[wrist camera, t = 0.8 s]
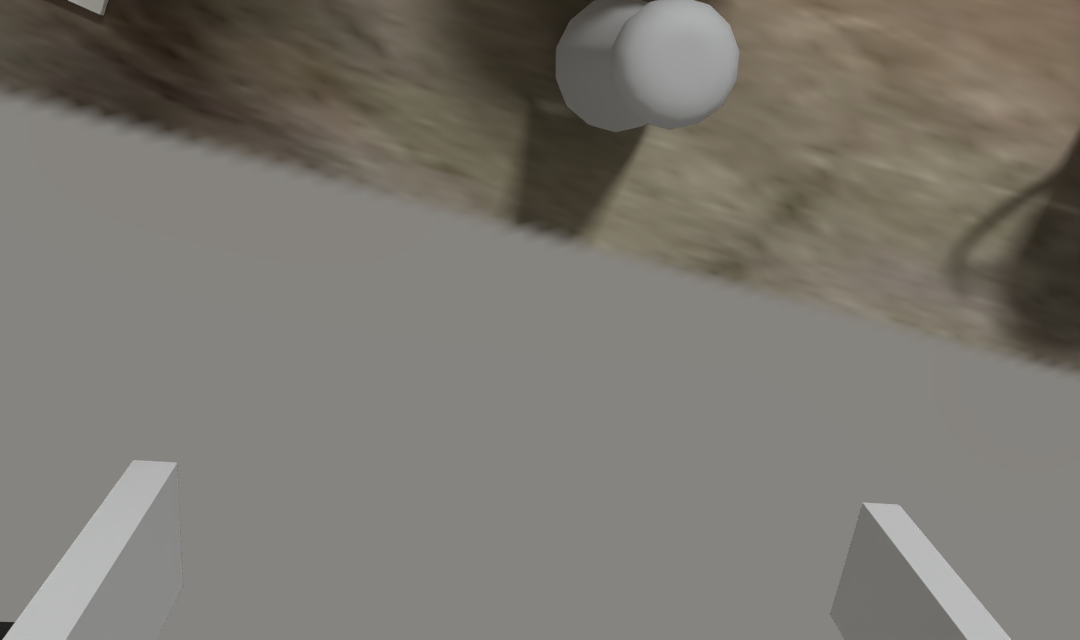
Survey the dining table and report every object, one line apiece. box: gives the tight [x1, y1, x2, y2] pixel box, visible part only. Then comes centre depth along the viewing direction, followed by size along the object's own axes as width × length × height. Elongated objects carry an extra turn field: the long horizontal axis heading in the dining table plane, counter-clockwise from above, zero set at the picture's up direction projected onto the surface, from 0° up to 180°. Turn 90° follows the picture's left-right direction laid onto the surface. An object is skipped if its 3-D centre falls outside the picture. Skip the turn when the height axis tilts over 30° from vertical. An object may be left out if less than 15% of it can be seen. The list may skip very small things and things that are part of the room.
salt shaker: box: [556, 0, 739, 132], centre depth 34 cm, size 6×6×13 cm
